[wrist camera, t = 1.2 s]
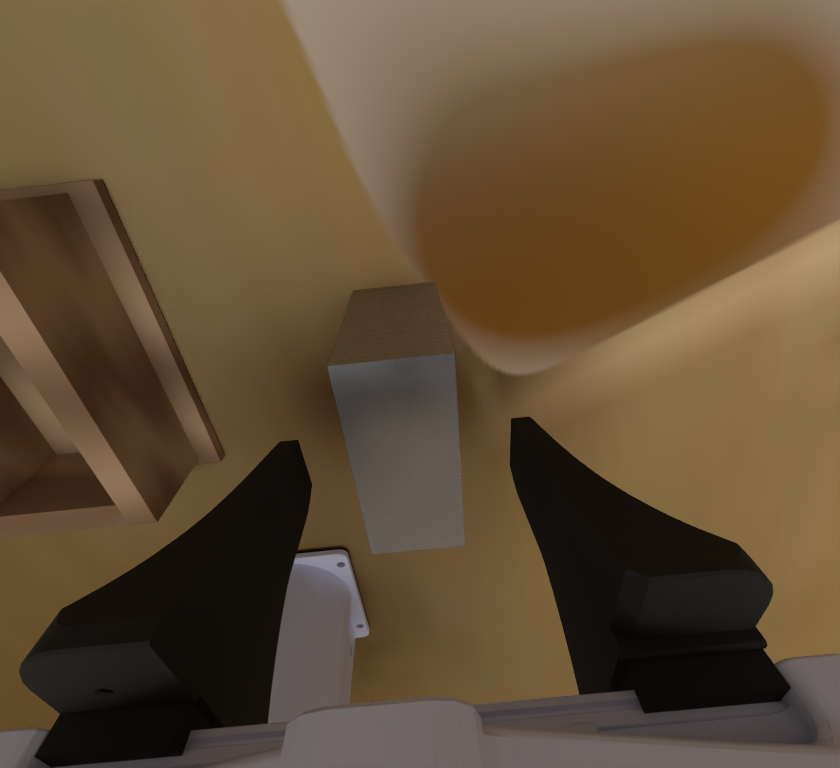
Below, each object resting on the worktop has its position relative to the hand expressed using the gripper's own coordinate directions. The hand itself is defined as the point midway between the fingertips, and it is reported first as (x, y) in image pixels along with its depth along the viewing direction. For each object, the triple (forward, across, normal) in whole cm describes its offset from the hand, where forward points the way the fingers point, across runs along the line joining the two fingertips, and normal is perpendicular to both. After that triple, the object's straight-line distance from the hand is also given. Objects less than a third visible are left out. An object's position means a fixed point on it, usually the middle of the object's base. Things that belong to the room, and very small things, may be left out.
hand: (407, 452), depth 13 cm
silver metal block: (+6, 0, 0) cm, 6 cm away
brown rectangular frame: (+6, +15, -2) cm, 16 cm away
